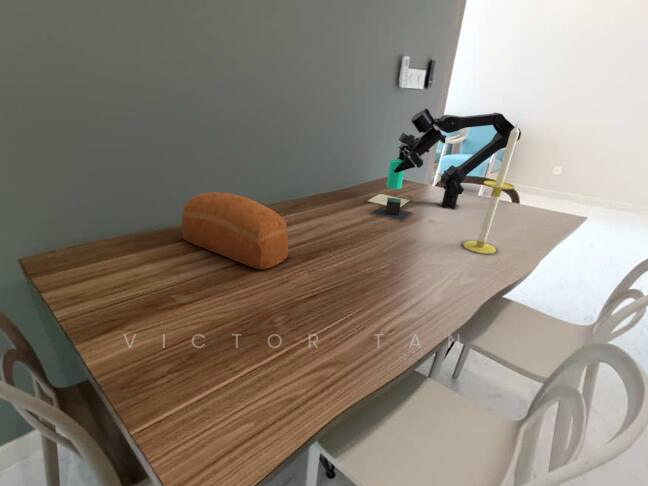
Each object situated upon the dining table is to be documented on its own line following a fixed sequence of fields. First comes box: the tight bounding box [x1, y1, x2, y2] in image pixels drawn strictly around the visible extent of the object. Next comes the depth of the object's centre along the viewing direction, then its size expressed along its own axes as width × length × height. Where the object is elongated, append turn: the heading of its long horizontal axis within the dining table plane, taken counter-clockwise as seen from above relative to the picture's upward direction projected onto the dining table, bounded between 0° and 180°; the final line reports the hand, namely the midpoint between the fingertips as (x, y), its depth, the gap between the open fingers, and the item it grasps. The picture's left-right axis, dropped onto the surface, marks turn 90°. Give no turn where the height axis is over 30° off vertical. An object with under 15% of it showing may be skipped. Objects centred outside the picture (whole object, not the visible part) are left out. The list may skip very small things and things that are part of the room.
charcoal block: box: [385, 198, 401, 216], centre depth 150 cm, size 5×5×5 cm
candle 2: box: [462, 120, 520, 255], centre depth 117 cm, size 10×10×38 cm
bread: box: [181, 191, 289, 270], centre depth 111 cm, size 14×33×16 cm, turn 54°
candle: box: [386, 156, 405, 190], centre depth 157 cm, size 6×6×12 cm
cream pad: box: [367, 193, 411, 208], centre depth 165 cm, size 14×14×1 cm
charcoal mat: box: [371, 205, 413, 221], centre depth 151 cm, size 12×12×1 cm
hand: (393, 170), depth 157 cm, fingers closed on candle, 5 cm apart
